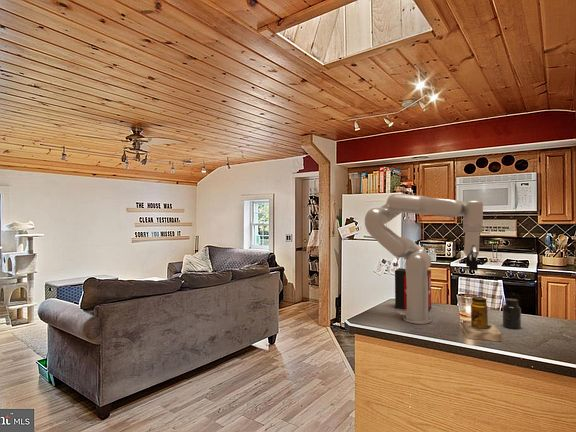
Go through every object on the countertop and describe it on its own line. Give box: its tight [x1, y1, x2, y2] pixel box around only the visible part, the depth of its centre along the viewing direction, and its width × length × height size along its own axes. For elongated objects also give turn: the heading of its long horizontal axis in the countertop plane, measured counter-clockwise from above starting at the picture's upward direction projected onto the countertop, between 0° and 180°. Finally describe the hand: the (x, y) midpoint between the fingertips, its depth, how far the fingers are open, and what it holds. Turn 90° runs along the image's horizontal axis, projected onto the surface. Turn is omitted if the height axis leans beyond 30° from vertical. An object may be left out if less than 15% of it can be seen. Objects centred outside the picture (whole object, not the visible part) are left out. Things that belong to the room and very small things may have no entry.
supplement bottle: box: [502, 298, 522, 330], centre depth 161 cm, size 7×7×12 cm
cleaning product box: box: [394, 267, 432, 313], centre depth 193 cm, size 16×9×20 cm, turn 60°
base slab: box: [462, 322, 503, 342], centre depth 150 cm, size 12×12×3 cm
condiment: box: [469, 296, 492, 331], centre depth 151 cm, size 7×8×12 cm
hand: (471, 268), depth 159 cm, fingers open, 9 cm apart
